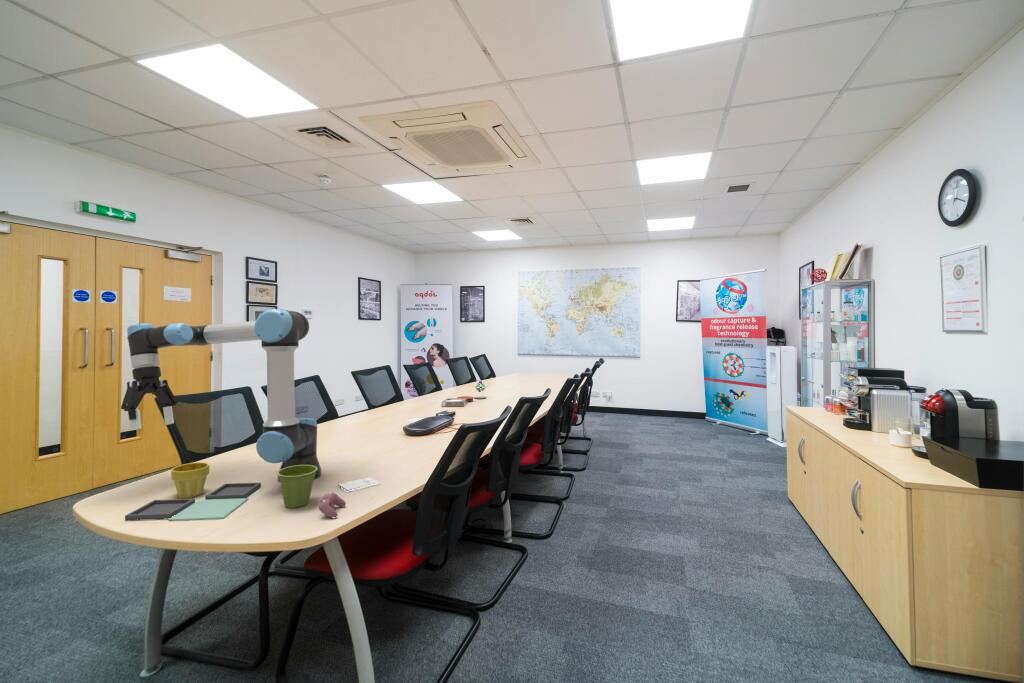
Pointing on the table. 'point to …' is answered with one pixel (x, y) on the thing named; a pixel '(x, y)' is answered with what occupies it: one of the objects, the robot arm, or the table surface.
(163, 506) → the tray
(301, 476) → the plant pot
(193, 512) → the pad
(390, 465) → the table surface
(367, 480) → the white flat block
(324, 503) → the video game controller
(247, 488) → the tray
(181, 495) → the plant pot
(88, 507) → the table surface
